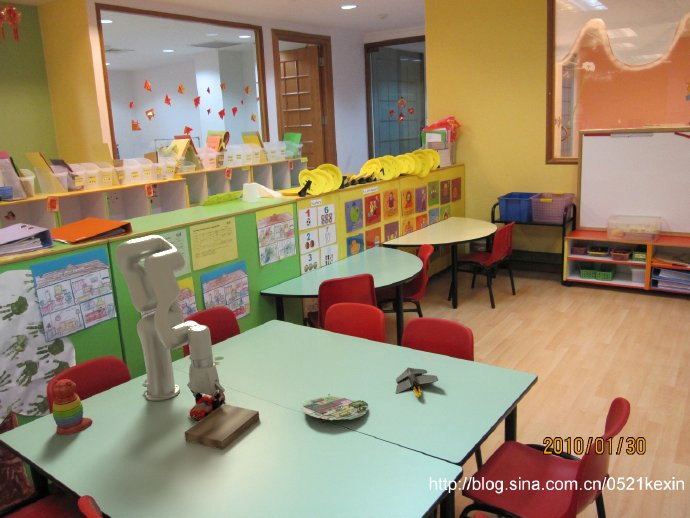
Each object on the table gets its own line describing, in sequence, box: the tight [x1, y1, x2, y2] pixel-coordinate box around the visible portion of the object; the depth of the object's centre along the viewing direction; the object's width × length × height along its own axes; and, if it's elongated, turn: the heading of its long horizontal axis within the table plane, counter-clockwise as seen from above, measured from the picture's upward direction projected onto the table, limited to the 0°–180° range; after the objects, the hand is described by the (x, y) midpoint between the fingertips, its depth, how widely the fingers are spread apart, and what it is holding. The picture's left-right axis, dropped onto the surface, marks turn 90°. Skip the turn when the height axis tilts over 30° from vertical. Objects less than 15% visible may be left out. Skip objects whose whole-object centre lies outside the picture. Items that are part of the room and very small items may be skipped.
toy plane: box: [395, 367, 439, 398], centre depth 215 cm, size 25×17×5 cm
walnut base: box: [184, 403, 260, 451], centre depth 192 cm, size 15×20×3 cm
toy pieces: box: [214, 356, 225, 367], centre depth 248 cm, size 12×11×4 cm
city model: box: [301, 393, 369, 424], centre depth 199 cm, size 25×23×6 cm
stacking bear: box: [52, 378, 93, 436], centre depth 197 cm, size 11×10×18 cm
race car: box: [188, 390, 226, 420], centre depth 205 cm, size 16×7×5 cm, turn 157°
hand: (208, 407), depth 205 cm, fingers closed on race car, 6 cm apart
